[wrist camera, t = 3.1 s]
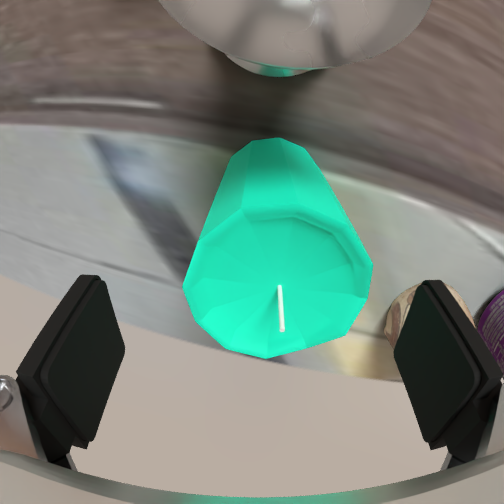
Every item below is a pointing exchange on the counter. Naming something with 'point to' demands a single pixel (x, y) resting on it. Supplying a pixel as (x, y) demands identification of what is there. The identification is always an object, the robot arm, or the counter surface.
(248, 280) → the candle
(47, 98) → the counter surface
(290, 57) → the bobbin post
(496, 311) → the beverage can
